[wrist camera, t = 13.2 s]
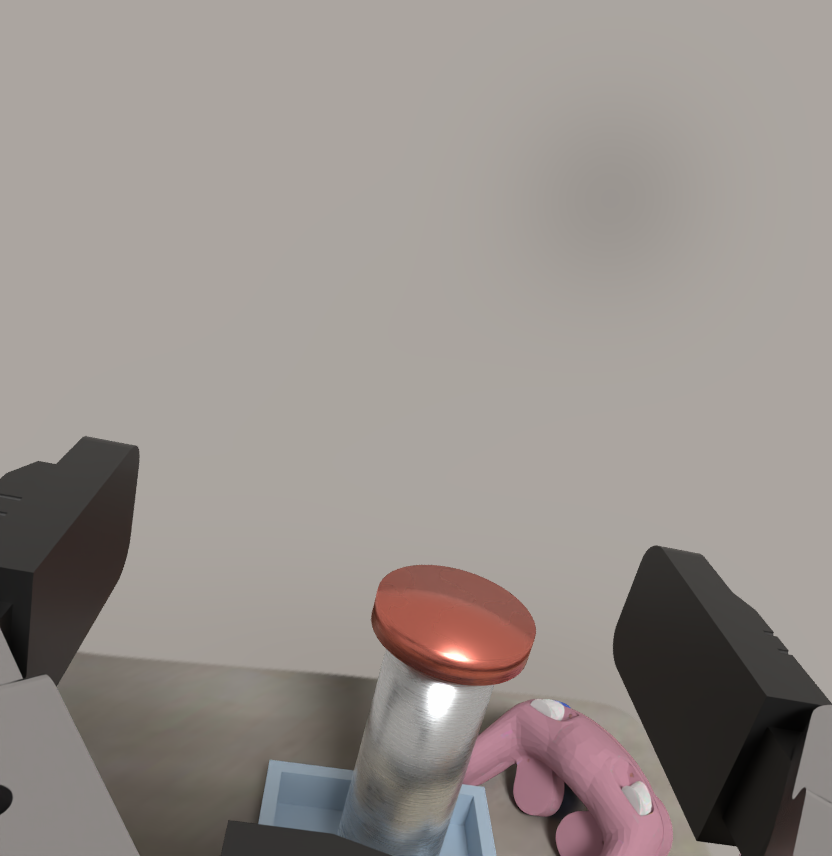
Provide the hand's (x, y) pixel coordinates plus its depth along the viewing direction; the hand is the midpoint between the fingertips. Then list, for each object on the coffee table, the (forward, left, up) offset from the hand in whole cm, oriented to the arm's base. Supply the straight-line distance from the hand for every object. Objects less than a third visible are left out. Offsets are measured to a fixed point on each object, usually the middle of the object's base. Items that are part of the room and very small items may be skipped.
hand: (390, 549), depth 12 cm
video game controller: (+12, +17, -23) cm, 31 cm away
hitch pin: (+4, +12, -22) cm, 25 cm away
